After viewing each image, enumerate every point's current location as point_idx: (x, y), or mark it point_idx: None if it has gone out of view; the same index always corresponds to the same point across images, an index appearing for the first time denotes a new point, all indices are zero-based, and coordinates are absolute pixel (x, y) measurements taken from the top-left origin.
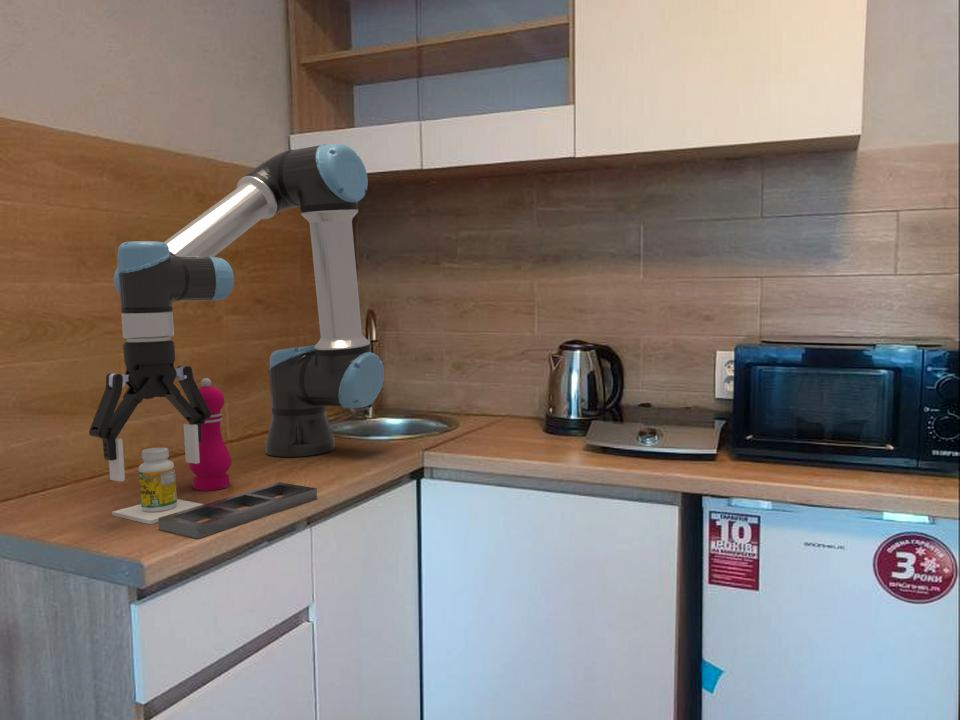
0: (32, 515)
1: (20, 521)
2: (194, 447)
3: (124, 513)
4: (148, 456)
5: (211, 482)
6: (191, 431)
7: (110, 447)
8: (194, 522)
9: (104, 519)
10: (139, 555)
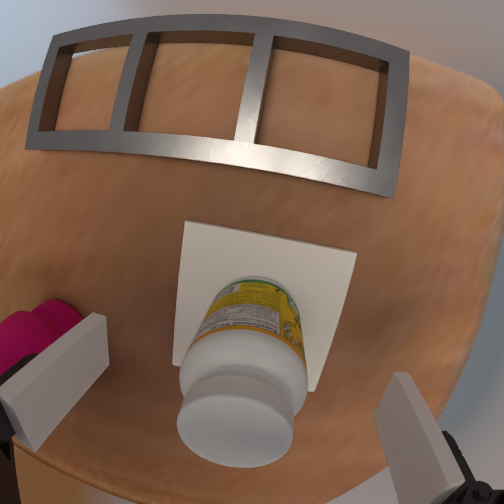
0: (338, 478)
1: (369, 468)
2: (72, 348)
3: (320, 360)
4: (292, 417)
5: (69, 322)
6: (35, 398)
7: (461, 465)
8: (390, 74)
9: (341, 380)
10: (496, 122)
